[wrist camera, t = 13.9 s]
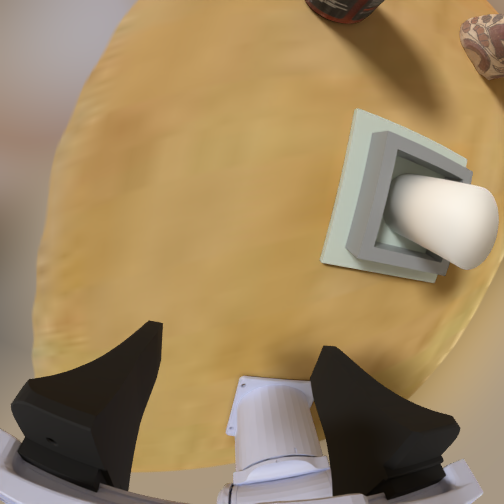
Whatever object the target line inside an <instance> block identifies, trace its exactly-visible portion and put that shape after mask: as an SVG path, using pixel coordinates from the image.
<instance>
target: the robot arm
mask: <svg viewBox="0 0 504 504" xmlns="http://www.w3.org/2000/svg"><path fill="white" fill-rule="evenodd" d="M162 330H163V323H159V322H154V321H148V322H146V323H145V324H144V325H143V326H142V327H141V328H140V329H138V330H137V331H136V332H135V333H134V334H132V335H131V336H130V337H129V338H127V339H126V340H125V341H124V342H122V343H121V344H120V345H118V346H117V347H115V348H114V349H112V350H111V351H109V352H108V353H106V354H105V355H103V356H101V357H100V358H98V359H96V360H94V361H92V362H90V363H87V364H85V365H83V366H80V367H78V368H75V369H73V370H70V371H67V372H63V373H60V374H56V375H52V376H47V377H41V378H35V379H29V380H28V381H27V382H26V384H25V385H24V386H23V387H22V389H21V390H20V392H19V393H18V395H17V396H16V398H15V399H14V401H13V403H12V404H11V410H12V413H13V416H14V418H15V420H16V422H17V423H18V425H19V427H20V429H21V431H22V432H23V434H24V436H25V438H24V440H23V442H22V443H21V442H20V441H19V440H18V439H17V438H16V437H14V436H13V435H11V434H9V433H7V432H6V431H4V430H2V429H1V428H0V500H1V501H3V502H4V503H5V504H188V503H181V502H175V501H169V500H164V499H158V498H153V497H148V496H144V495H140V494H136V493H132V492H128V488H129V481H130V474H131V467H132V461H133V455H134V450H135V445H136V440H137V435H138V431H139V426H140V422H141V419H142V416H143V413H144V410H145V408H146V405H147V402H148V400H149V397H150V394H151V392H152V389H153V386H154V384H155V381H156V378H157V374H158V370H159V366H160V362H161V349H162ZM242 384H245V385H242ZM313 401H314V402H315V405H316V408H317V411H318V415H319V418H320V421H321V424H322V427H323V430H324V433H325V437H326V442H327V447H328V453H329V460H330V466H329V462H328V459H327V456H323V454H322V451H321V447H320V443H319V440H318V436H317V433H316V429H315V426H314V422H313V419H312V416H311V412H310V407H311V405H312V403H313ZM459 432H460V427H459V425H458V424H457V423H456V421H455V419H454V418H453V417H452V416H450V415H447V414H443V413H439V412H435V411H432V410H429V409H427V408H424V407H421V406H419V405H416V404H414V403H412V402H410V401H408V400H406V399H404V398H402V397H401V396H399V395H397V394H395V393H394V392H392V391H391V390H389V389H387V388H386V387H384V386H383V385H382V384H380V383H379V382H378V381H376V380H375V379H374V378H372V377H371V376H370V375H369V374H367V373H366V372H365V371H364V370H363V369H361V368H360V367H359V366H358V365H357V364H356V363H355V362H353V361H352V360H351V359H350V358H349V357H348V356H347V355H345V354H344V353H343V352H342V351H341V350H340V349H338V348H337V347H335V346H323V348H322V351H321V353H320V356H319V358H318V361H317V363H316V365H315V368H314V370H313V373H312V375H311V377H310V381H300V380H284V379H272V378H261V377H251V376H242V377H240V379H239V382H238V386H237V390H236V394H235V398H234V402H233V406H232V409H231V413H230V417H229V421H228V425H227V428H226V434H227V435H231V436H235V459H236V472H234V473H233V483H227V484H225V485H224V487H223V489H222V490H221V491H220V492H219V494H218V498H217V504H471V503H472V502H474V501H475V500H476V499H477V498H479V497H480V496H481V495H482V494H483V491H482V489H481V487H480V485H479V484H478V482H477V480H476V478H475V477H474V475H473V473H472V472H471V470H470V468H469V467H468V465H467V464H466V462H465V460H464V459H460V460H458V461H456V462H453V463H451V464H449V465H447V466H445V467H444V468H442V466H441V463H442V462H443V458H442V456H441V455H442V454H443V453H444V452H445V451H446V449H447V448H448V447H449V446H450V445H451V444H452V443H453V442H454V440H455V439H456V438H457V436H458V434H459Z"/></svg>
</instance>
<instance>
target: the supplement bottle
mask: <svg viewBox="0 0 504 504" xmlns="http://www.w3.org/2000/svg"><path fill="white" fill-rule="evenodd" d="M305 1H306V3H307V4H308V5H309V6H310V8H311V9H313V10H314V11H315V12H316V13H318V14H319V15H321V16H322V17H324V18H327V19H329V20H332V21H335V22H339V23H349V24H352V23H357V22H360V21H362V20H364V19H365V18H366V17H367V16H369V15H370V14H371V13H372V12H373V11H374V10H375V9H376V8H377V7H378V6H379V5H380V4H381V3H382V2H383V1H384V0H305Z"/></svg>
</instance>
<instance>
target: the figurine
mask: <svg viewBox="0 0 504 504" xmlns="http://www.w3.org/2000/svg"><path fill="white" fill-rule="evenodd" d="M460 40H461V44H462V46H463V48H464V50H465V52H466V54H467V56H468V57H469V58H470V60H471V62H472V63H473V64H474V66H475V68H476V70H477V71H478V73H479V74H481V75H483V76H484V77H486V78H487V79H488V80H491V79H495V78H502V77H504V14H493V15H483V16H479V17H473V18H470V19H468V20H466V21H465V22H464V23H463V24H462V25H461V28H460Z"/></svg>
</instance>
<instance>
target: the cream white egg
mask: <svg viewBox="0 0 504 504" xmlns="http://www.w3.org/2000/svg"><path fill="white" fill-rule="evenodd" d="M383 217H384V220H385V222H386V224H387V225H388V227H389V228H390V229H391V230H392V231H394V232H396V233H398V234H400V235H401V236H403V237H405V238H407V239H409V240H411V241H413V242H415V243H417V244H419V245H420V246H422V247H424V248H426V249H428V250H430V251H431V252H433V253H435V254H437V255H439V256H440V257H442V258H444V259H446V260H448V261H449V262H451V263H453V264H455V265H456V266H458V267H460V268H461V269H464V270H470V269H473V268H475V267H477V266H479V265H480V264H481V263H482V262H483V261H484V260H485V259H486V258H487V256H488V255H489V253H490V252H491V250H492V248H493V245H494V243H495V240H496V236H497V232H498V223H499V216H498V208H497V204H496V202H495V199H494V197H493V195H492V194H491V193H490V192H489V191H488V190H487V189H485V188H483V187H479V186H475V185H470V184H465V183H461V182H456V181H450V180H445V179H440V178H434V177H428V176H422V175H416V174H409V173H405V174H401V175H398V176H397V177H395V178H394V179H393V180H392V181H391V183H390V188H389V192H388V196H387V200H386V204H385V208H384V212H383Z"/></svg>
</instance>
